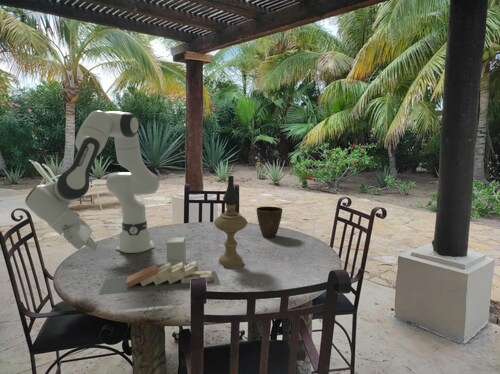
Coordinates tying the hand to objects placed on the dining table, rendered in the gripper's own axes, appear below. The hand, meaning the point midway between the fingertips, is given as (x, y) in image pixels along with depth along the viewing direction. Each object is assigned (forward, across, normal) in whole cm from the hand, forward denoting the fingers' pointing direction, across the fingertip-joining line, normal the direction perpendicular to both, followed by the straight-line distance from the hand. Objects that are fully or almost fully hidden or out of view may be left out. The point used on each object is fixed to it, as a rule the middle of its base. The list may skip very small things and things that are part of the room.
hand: (96, 248), depth 135 cm
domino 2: (+21, -1, -2) cm, 21 cm away
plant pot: (+70, +50, -54) cm, 101 cm away
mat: (+28, -2, -6) cm, 28 cm away
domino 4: (+28, -2, -9) cm, 30 cm away
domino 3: (+24, -2, -6) cm, 25 cm away
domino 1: (+18, -1, +2) cm, 18 cm away
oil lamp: (+49, +13, -29) cm, 58 cm away
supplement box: (+32, +15, -12) cm, 37 cm away
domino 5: (+31, -2, -13) cm, 34 cm away
